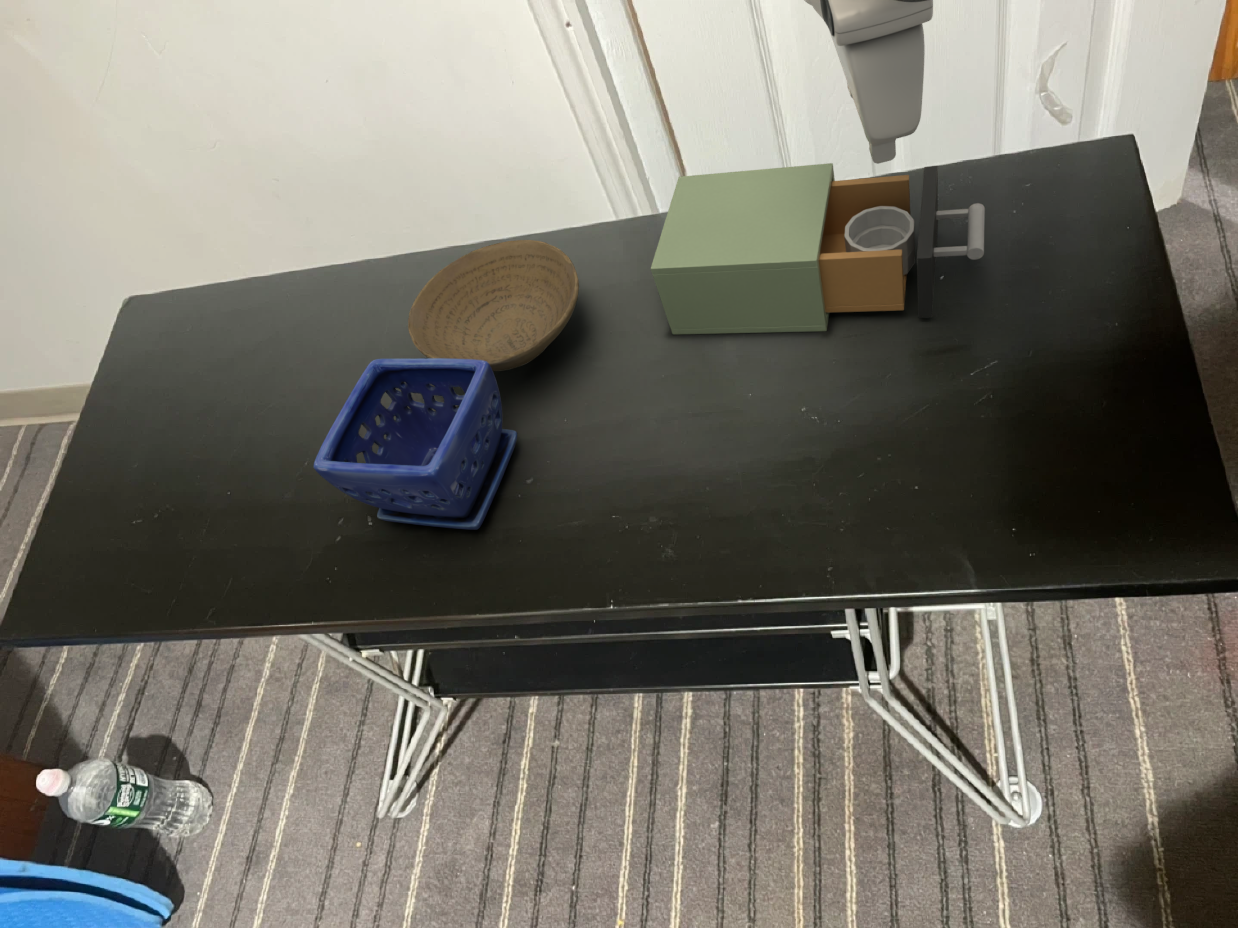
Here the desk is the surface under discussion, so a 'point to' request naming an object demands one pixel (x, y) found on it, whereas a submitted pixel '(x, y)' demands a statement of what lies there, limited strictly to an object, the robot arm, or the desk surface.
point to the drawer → (880, 273)
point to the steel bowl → (882, 233)
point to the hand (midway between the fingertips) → (870, 123)
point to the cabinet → (745, 251)
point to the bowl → (496, 304)
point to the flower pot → (421, 442)
